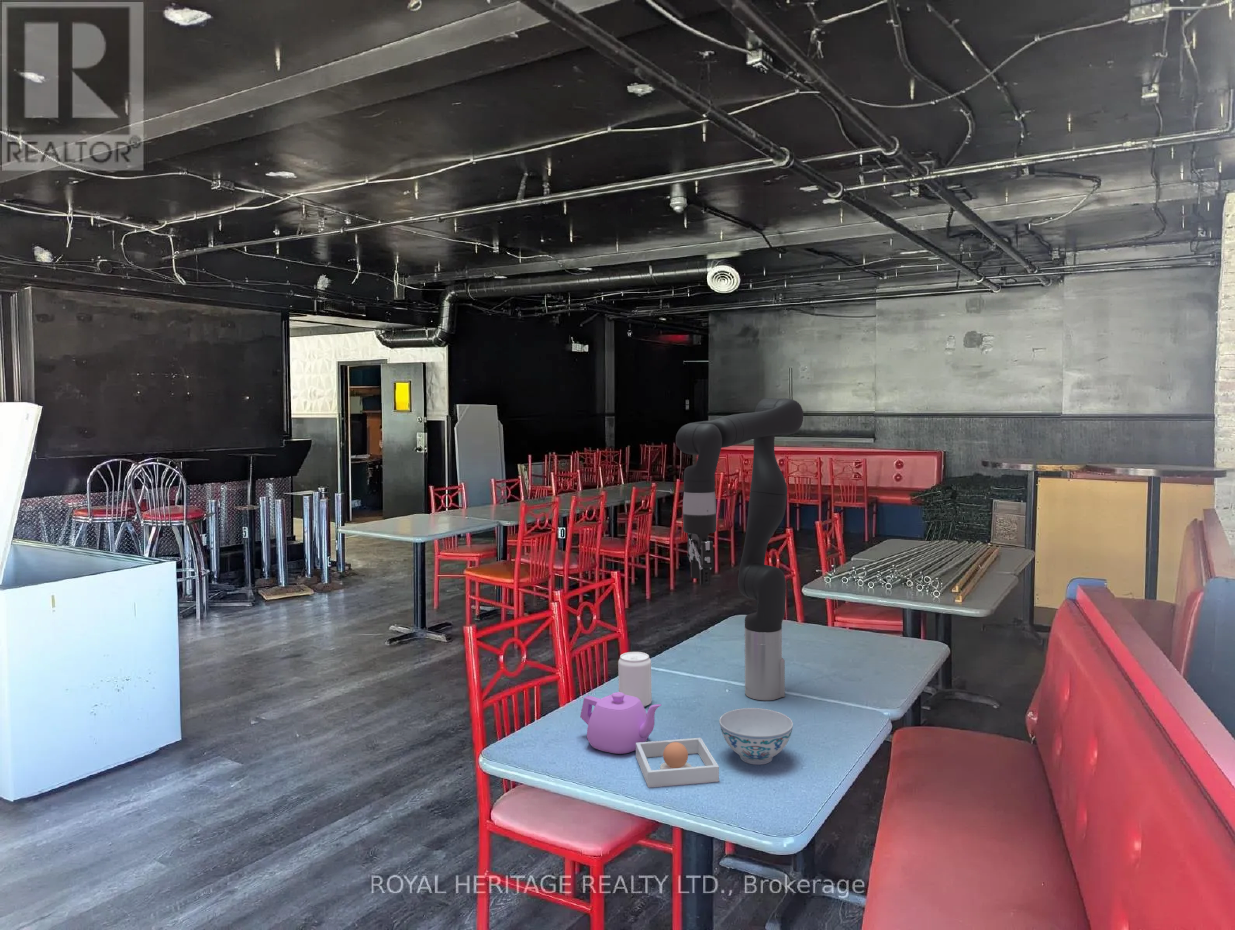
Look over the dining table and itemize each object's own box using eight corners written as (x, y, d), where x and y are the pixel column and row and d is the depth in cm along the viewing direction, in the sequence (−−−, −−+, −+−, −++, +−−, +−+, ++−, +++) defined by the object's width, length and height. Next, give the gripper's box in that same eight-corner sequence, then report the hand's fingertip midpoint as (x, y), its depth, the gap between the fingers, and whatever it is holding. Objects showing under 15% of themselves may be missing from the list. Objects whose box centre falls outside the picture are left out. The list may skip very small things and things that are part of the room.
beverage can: (652, 698, 201) (651, 651, 200) (650, 710, 193) (650, 661, 192) (620, 697, 201) (619, 650, 201) (617, 709, 193) (616, 660, 193)
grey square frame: (701, 751, 169) (700, 737, 169) (718, 781, 155) (718, 766, 155) (635, 756, 167) (635, 742, 166) (648, 787, 153) (648, 772, 153)
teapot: (647, 765, 163) (646, 712, 162) (566, 746, 173) (565, 696, 172) (676, 741, 174) (675, 692, 173) (598, 724, 184) (597, 677, 183)
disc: (687, 760, 164) (687, 759, 164) (695, 774, 158) (695, 772, 158) (657, 762, 163) (657, 761, 163) (663, 776, 157) (663, 775, 157)
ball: (685, 760, 164) (684, 737, 163) (690, 771, 159) (690, 747, 158) (661, 762, 163) (660, 739, 163) (666, 773, 158) (665, 749, 158)
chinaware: (777, 780, 155) (777, 741, 155) (707, 763, 163) (707, 726, 162) (803, 751, 168) (803, 716, 167) (737, 737, 176) (736, 703, 175)
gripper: (724, 514, 174) (724, 587, 175) (707, 507, 188) (708, 574, 189) (690, 516, 173) (691, 589, 174) (676, 508, 187) (677, 576, 188)
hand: (700, 581), depth 182 cm, fingers open, 8 cm apart
